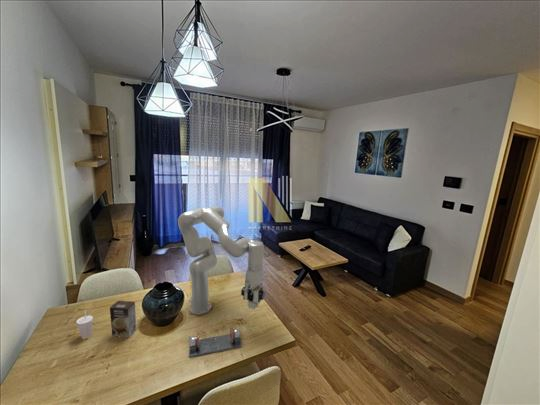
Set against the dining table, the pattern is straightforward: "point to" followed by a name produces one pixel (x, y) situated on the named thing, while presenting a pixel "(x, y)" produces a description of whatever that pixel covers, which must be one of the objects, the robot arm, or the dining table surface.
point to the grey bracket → (214, 343)
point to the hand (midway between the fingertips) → (253, 297)
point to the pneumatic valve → (254, 296)
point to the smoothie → (85, 325)
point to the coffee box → (123, 318)
